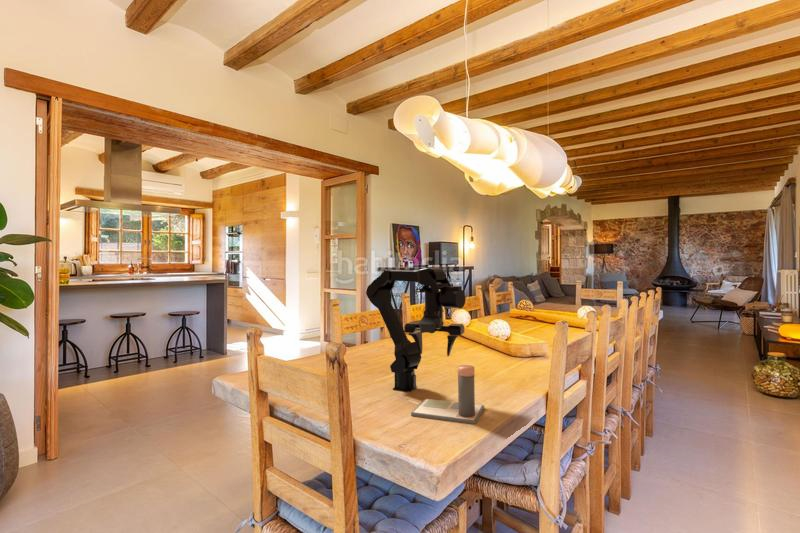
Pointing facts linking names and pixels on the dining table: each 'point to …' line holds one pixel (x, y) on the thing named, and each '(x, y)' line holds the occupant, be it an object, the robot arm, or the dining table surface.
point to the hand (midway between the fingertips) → (434, 355)
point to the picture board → (445, 411)
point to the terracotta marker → (466, 390)
